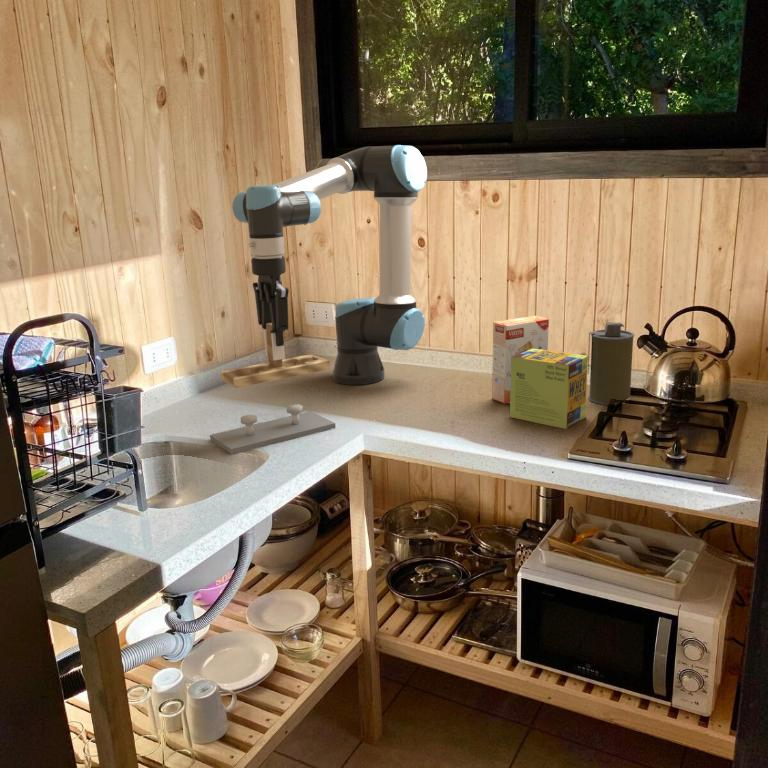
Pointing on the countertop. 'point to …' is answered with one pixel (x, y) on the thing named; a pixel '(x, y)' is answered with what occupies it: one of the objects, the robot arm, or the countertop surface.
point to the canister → (610, 364)
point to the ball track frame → (274, 368)
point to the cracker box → (514, 349)
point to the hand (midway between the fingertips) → (275, 357)
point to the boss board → (271, 430)
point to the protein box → (548, 387)
